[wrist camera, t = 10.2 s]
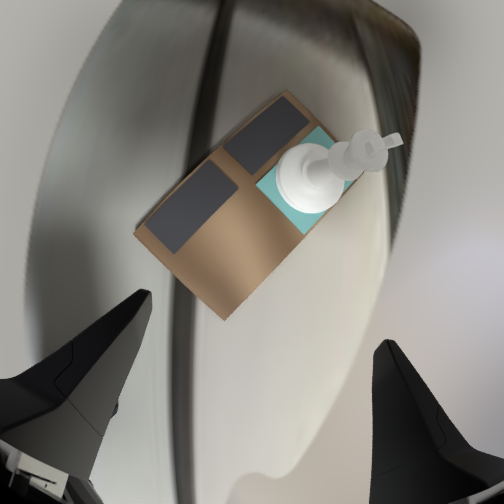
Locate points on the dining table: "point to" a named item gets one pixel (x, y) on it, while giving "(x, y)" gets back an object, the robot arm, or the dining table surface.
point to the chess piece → (329, 169)
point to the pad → (271, 191)
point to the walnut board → (235, 232)
